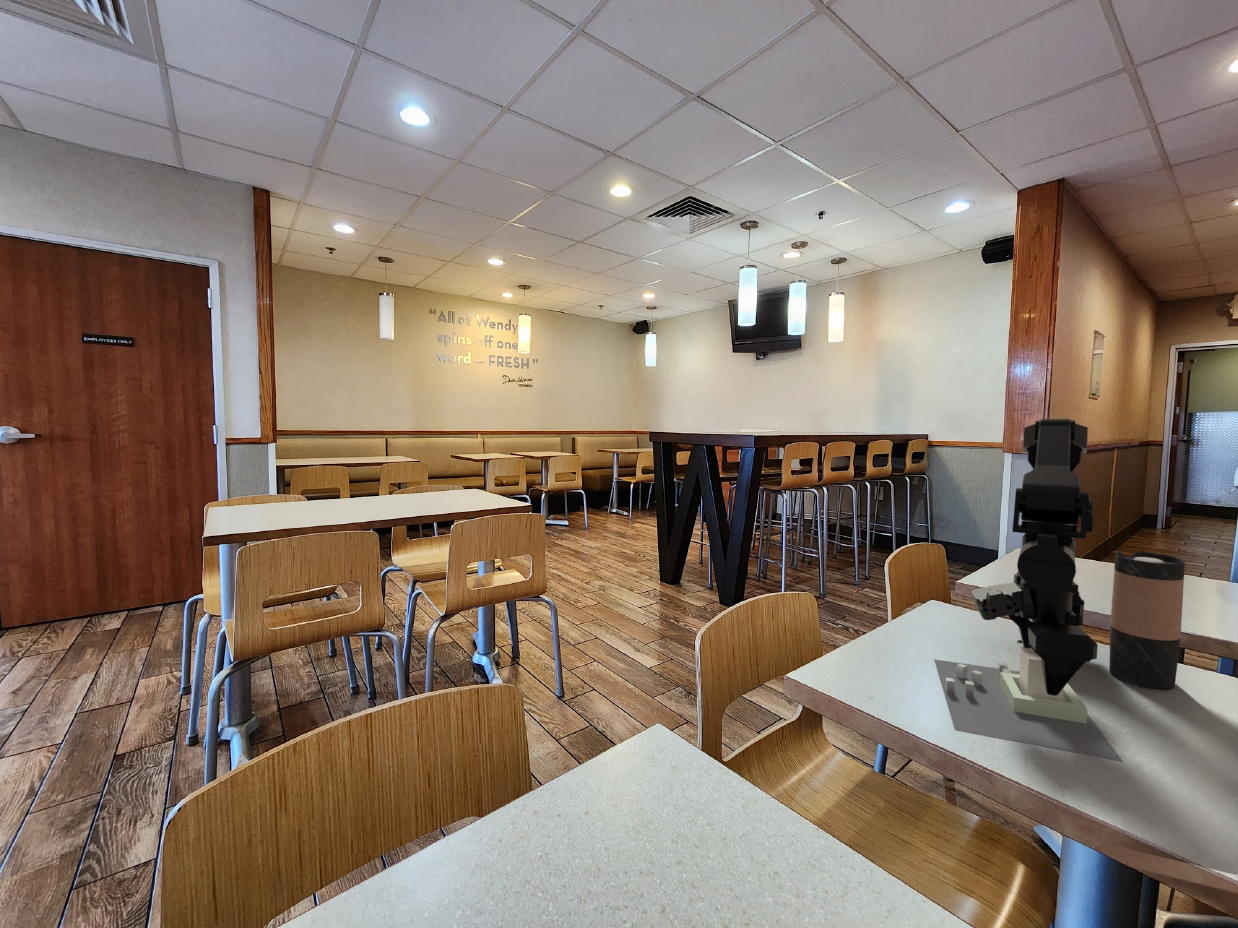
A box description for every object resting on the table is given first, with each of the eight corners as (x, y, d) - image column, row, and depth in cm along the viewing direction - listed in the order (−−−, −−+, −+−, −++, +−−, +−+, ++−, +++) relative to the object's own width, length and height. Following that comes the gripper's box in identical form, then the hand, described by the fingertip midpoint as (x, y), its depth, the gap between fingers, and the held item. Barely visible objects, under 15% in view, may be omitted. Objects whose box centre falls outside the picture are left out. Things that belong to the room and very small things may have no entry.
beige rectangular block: (1018, 692, 79) (1020, 647, 78) (1052, 698, 77) (1054, 651, 77) (1026, 706, 75) (1028, 658, 75) (1062, 712, 74) (1064, 663, 73)
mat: (933, 664, 90) (934, 659, 90) (1060, 683, 83) (1060, 677, 83) (954, 736, 70) (954, 729, 70) (1122, 769, 63) (1123, 761, 63)
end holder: (999, 684, 81) (1000, 671, 81) (1065, 694, 78) (1066, 681, 78) (1013, 711, 74) (1013, 697, 74) (1086, 723, 71) (1087, 709, 71)
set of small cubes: (937, 665, 88) (938, 653, 88) (1005, 675, 84) (1006, 663, 84) (946, 693, 79) (946, 680, 79) (1022, 706, 75) (1023, 692, 75)
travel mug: (1174, 703, 77) (1184, 567, 75) (1103, 684, 83) (1111, 557, 81) (1178, 685, 82) (1187, 557, 80) (1110, 668, 88) (1118, 548, 86)
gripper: (966, 550, 86) (963, 644, 88) (992, 584, 69) (987, 700, 71) (1052, 556, 82) (1047, 655, 83) (1102, 594, 65) (1095, 717, 66)
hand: (1041, 678), depth 76 cm, fingers open, 9 cm apart
